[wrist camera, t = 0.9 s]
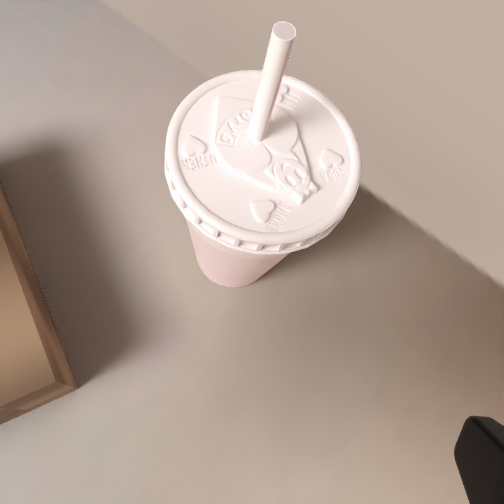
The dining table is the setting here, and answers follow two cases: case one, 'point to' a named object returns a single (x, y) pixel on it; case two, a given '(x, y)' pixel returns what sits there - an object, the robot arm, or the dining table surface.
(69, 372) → the caddy
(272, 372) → the dining table surface
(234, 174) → the smoothie
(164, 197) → the dining table surface
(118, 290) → the dining table surface
